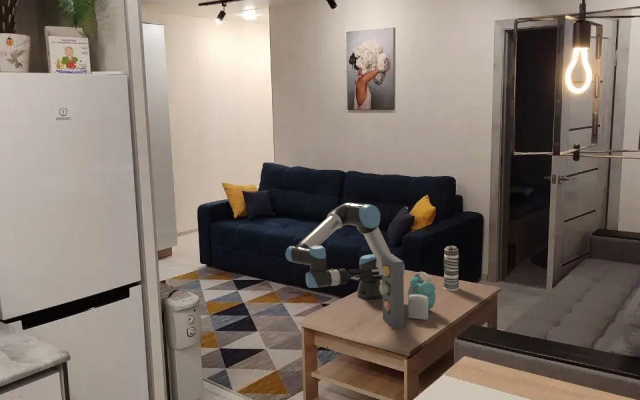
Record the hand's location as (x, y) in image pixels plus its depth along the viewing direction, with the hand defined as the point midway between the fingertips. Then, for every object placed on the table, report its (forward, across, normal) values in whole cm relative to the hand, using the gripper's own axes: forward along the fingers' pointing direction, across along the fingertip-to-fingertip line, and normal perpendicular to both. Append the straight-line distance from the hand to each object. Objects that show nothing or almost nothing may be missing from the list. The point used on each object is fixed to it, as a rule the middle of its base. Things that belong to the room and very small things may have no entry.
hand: (384, 271), depth 293 cm
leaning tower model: (+56, +39, +27) cm, 74 cm away
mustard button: (+2, 0, +2) cm, 3 cm away
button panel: (+5, 0, +27) cm, 27 cm away
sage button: (0, 0, +11) cm, 11 cm away
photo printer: (+19, +2, +27) cm, 33 cm away
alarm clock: (+26, +13, +27) cm, 39 cm away
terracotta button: (+3, 0, +20) cm, 20 cm away
